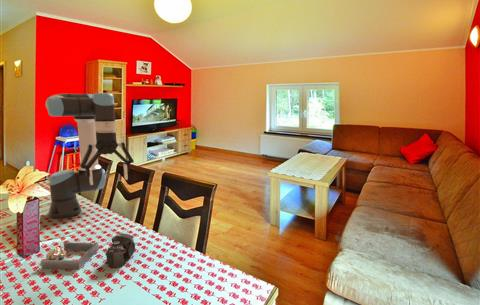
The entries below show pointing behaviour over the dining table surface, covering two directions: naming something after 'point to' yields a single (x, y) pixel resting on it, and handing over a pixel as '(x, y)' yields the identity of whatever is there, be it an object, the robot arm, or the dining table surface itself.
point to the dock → (72, 264)
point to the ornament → (56, 254)
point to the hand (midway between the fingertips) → (109, 181)
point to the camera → (120, 250)
